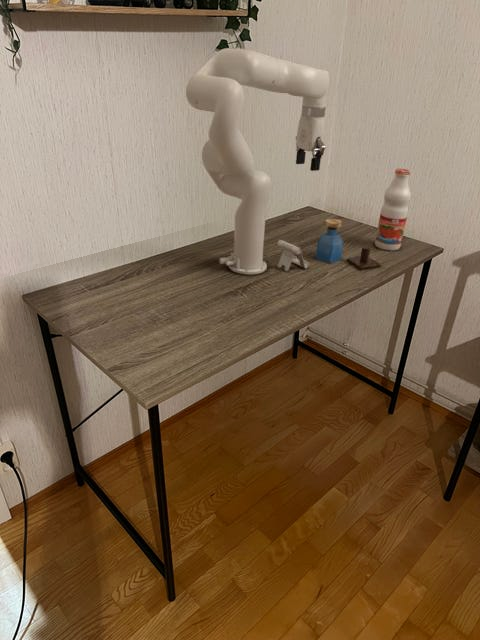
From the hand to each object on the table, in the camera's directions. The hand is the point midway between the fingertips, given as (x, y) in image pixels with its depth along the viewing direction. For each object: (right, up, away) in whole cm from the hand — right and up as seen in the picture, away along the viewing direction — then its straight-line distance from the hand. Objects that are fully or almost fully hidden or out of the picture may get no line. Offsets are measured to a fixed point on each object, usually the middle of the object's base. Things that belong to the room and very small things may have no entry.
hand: (307, 167), depth 166 cm
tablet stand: (-6, -34, -3) cm, 35 cm away
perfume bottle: (+8, -31, +5) cm, 32 cm away
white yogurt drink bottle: (+32, -24, +18) cm, 44 cm away
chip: (+9, -20, -1) cm, 22 cm away
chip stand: (+19, -33, +2) cm, 38 cm away
